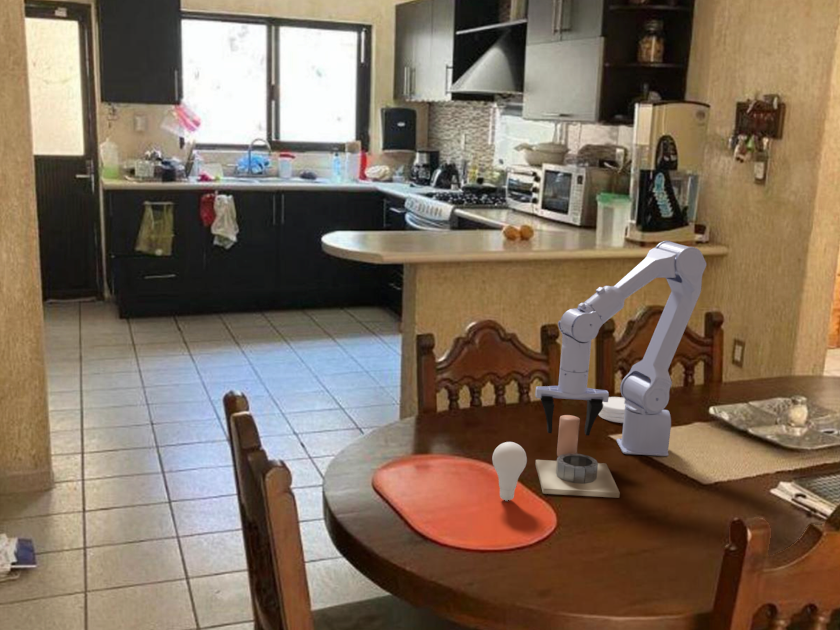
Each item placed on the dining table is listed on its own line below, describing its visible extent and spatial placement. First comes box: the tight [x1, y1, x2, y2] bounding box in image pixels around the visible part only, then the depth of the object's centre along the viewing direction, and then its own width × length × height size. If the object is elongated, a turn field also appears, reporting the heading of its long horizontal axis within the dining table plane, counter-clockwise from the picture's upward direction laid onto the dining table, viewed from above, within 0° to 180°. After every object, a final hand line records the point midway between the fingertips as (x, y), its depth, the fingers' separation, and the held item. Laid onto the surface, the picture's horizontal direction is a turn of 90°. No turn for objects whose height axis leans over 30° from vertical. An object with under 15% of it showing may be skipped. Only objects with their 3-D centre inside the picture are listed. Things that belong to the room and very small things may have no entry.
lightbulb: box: [491, 441, 528, 502], centre depth 159 cm, size 6×6×11 cm
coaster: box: [598, 396, 625, 424], centre depth 209 cm, size 10×10×4 cm
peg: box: [556, 414, 581, 457], centre depth 183 cm, size 4×4×8 cm
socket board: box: [534, 453, 621, 499], centre depth 171 cm, size 14×14×4 cm
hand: (568, 432), depth 183 cm, fingers open, 7 cm apart
